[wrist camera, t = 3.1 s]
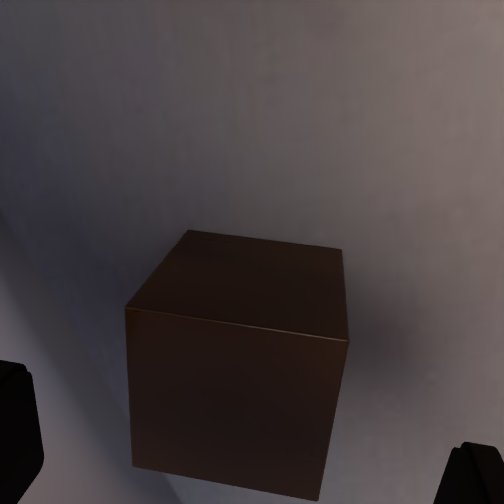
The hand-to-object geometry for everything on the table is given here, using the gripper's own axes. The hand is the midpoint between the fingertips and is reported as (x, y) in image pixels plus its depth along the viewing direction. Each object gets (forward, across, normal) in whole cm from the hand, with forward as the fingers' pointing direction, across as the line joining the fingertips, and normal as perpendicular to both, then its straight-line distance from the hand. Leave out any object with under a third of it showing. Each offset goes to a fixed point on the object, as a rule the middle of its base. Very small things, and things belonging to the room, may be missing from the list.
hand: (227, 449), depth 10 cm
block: (+6, 0, 0) cm, 6 cm away
